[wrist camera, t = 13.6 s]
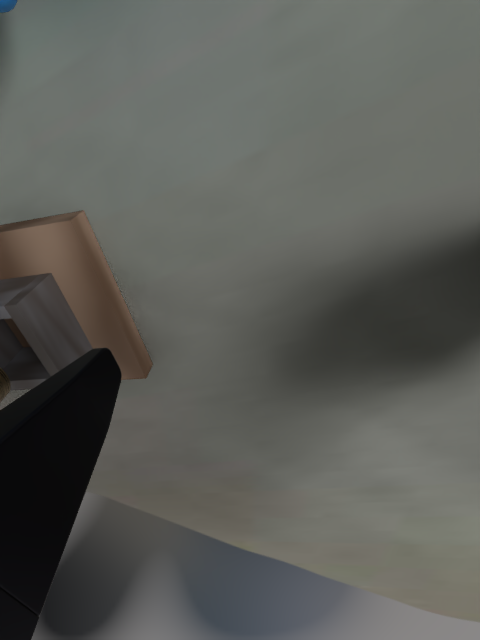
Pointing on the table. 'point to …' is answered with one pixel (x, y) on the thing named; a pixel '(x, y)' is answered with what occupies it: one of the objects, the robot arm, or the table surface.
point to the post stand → (60, 302)
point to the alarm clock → (7, 5)
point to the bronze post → (4, 384)
